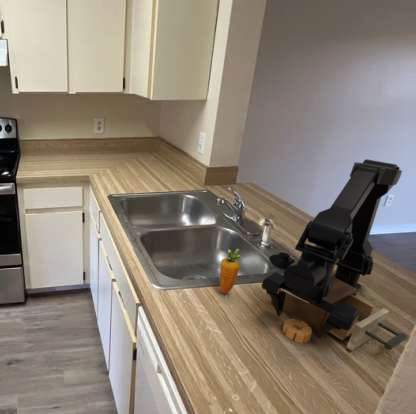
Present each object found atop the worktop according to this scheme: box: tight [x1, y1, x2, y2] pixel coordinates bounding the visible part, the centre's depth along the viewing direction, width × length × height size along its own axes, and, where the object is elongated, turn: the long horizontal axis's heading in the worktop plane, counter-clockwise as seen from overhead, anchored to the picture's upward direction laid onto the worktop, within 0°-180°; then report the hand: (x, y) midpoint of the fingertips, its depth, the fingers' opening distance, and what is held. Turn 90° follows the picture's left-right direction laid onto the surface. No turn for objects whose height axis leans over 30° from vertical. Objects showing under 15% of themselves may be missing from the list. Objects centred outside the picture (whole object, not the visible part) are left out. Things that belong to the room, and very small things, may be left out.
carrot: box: [219, 248, 242, 295], centre depth 92 cm, size 5×5×15 cm
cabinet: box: [270, 273, 359, 334], centre depth 87 cm, size 13×13×9 cm
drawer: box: [322, 295, 408, 351], centre depth 79 cm, size 17×12×7 cm
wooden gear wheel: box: [282, 317, 313, 344], centre depth 81 cm, size 6×6×2 cm
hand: (298, 326), depth 80 cm, fingers open, 9 cm apart
